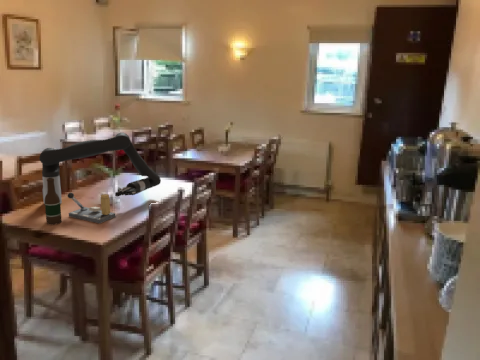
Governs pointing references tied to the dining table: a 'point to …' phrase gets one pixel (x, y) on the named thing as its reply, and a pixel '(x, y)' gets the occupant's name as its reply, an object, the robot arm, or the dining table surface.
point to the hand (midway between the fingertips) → (116, 194)
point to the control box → (91, 215)
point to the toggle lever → (75, 200)
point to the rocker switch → (94, 209)
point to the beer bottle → (52, 204)
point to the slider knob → (105, 204)
